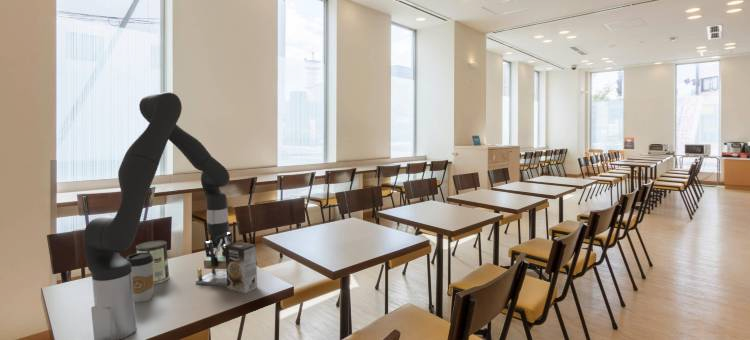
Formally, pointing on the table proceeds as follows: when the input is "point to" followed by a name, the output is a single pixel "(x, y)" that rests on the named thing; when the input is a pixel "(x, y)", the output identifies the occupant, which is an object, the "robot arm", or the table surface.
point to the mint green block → (220, 262)
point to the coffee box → (241, 266)
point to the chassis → (212, 278)
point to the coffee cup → (142, 275)
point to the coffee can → (157, 259)
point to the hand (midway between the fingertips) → (220, 263)
